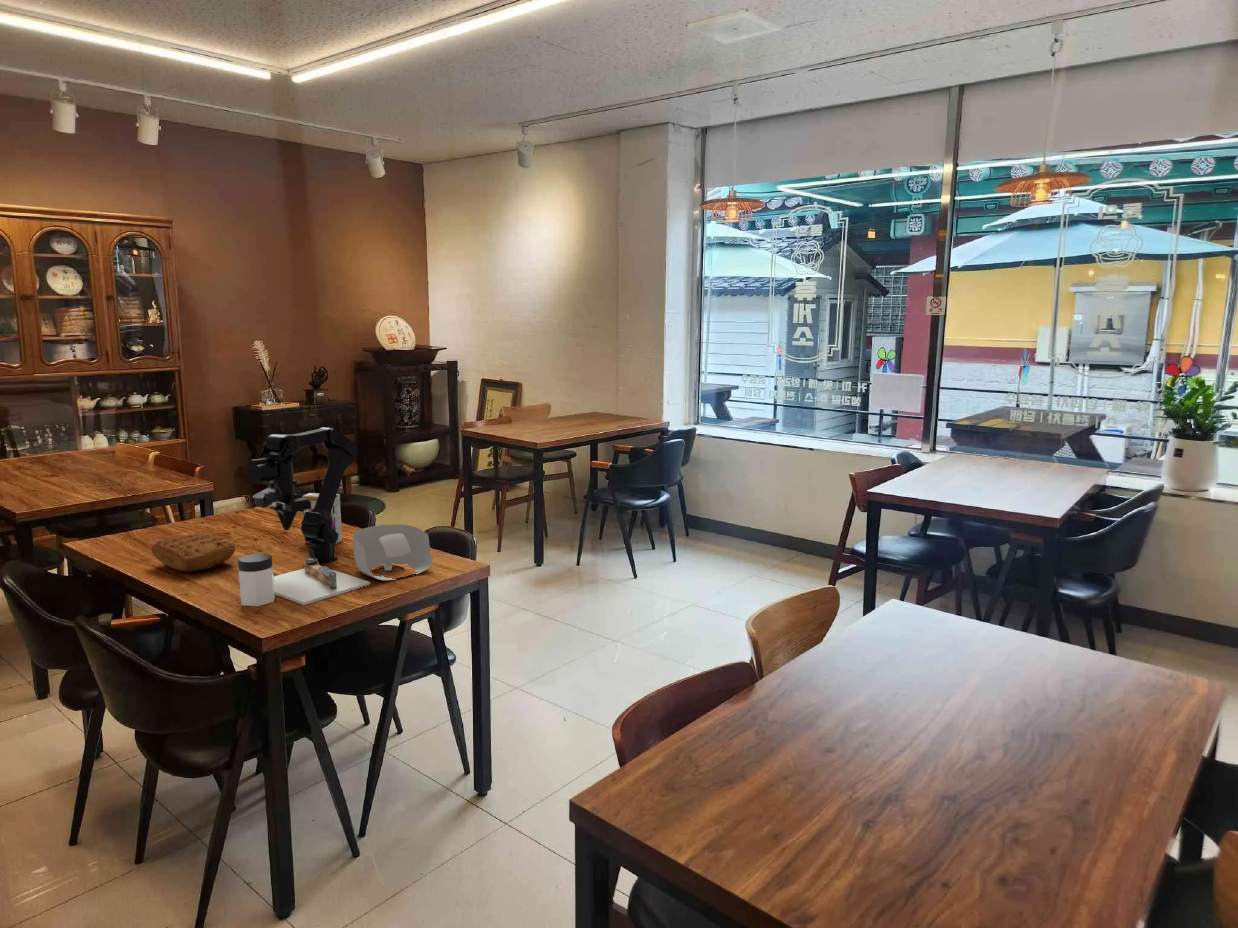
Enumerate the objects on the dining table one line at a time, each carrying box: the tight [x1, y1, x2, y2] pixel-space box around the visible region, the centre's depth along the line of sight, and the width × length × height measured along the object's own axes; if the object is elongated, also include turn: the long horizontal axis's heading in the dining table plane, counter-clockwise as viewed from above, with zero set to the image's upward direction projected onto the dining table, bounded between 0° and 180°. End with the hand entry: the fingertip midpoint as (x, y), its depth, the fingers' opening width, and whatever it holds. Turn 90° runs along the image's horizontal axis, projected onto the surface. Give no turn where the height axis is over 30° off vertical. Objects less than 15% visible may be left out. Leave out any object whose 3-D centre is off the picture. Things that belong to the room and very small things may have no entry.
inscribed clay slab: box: [151, 532, 236, 572], centre depth 239 cm, size 22×17×8 cm
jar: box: [237, 553, 276, 607], centre depth 208 cm, size 9×8×12 cm
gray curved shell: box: [352, 523, 433, 581], centre depth 234 cm, size 20×19×12 cm
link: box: [304, 562, 330, 585], centre depth 226 cm, size 17×4×2 cm, turn 40°
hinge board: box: [273, 567, 371, 606], centre depth 222 cm, size 21×26×1 cm
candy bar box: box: [301, 492, 343, 545], centre depth 264 cm, size 11×5×16 cm, turn 84°
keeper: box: [305, 557, 337, 590], centre depth 224 cm, size 3×21×4 cm, turn 40°
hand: (286, 530), depth 231 cm, fingers closed
